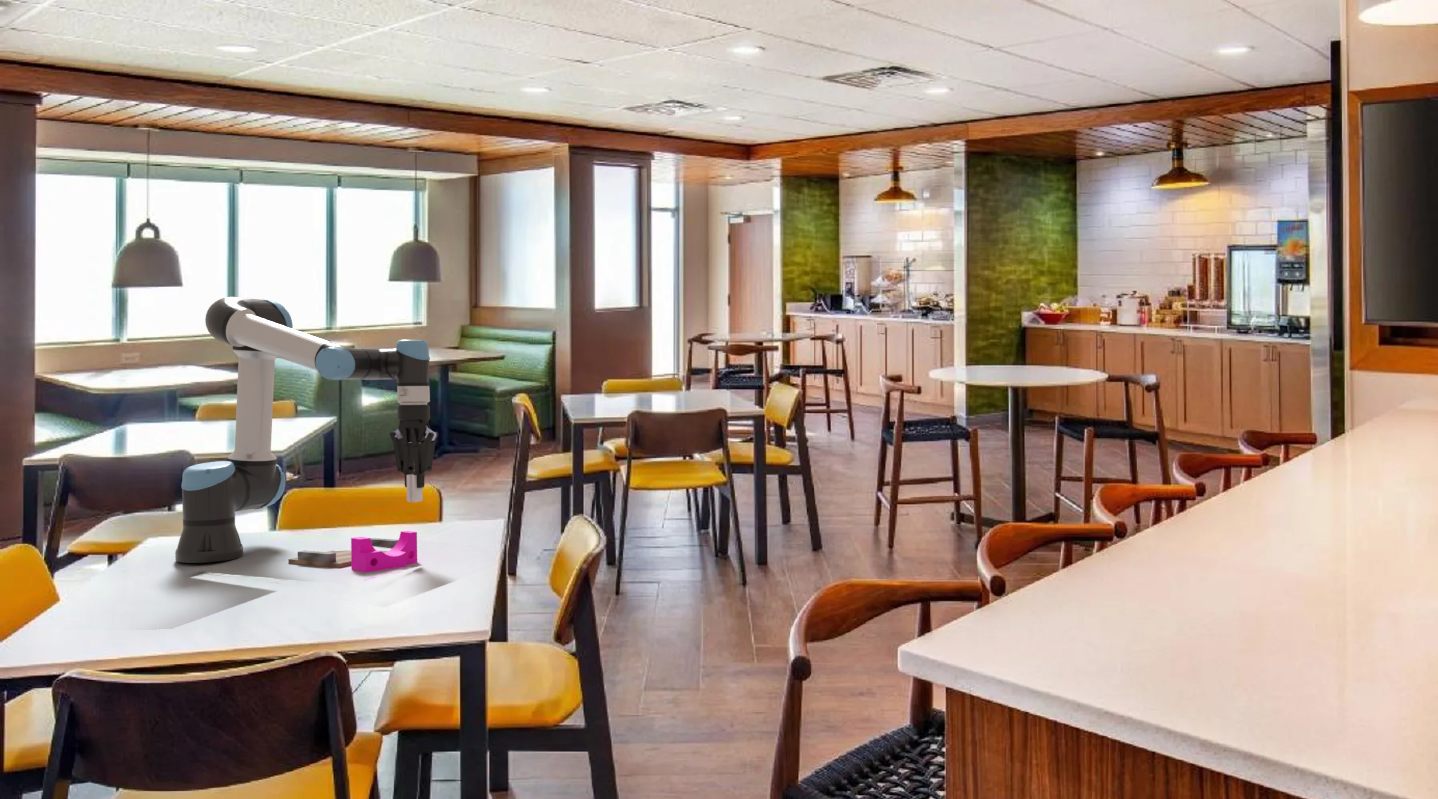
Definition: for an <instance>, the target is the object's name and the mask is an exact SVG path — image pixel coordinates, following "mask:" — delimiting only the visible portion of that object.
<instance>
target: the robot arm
mask: <svg viewBox="0 0 1438 799" xmlns="http://www.w3.org/2000/svg"><path fill="white" fill-rule="evenodd" d="M204 322H205V326H206V329H207V331H208V333H209V334H210V336H211V337H213V338H214V339H215V340H217V341H218V342H221V343H224V344H228V345H231V346H232V352H233V353H234V354H235V355H236V356H237V357H238V366H237V370H238V371H237V386H236V387H237V388H236V390H237V391H236V408H235V411H236V412H235V415H236V416H235V432H234V433H235V435H234V450H233V451H232V452H231V453H230V454H229V455H228V456H227V461H226V460H219V461H210V462H202V463H198V464H193V465H191V466H188V467H186V468H185V469H184V470H183V471H182V479H181V480H182V481H181V495H182V499H181V500H182V502H181V503H182V531H181V533H180V537H179V540H178V544H177V548H176V549H175V553H174V554H175V556H174V557H175V561H176V562H177V563H178V562H179V563H188V564H189V563H193V564H195V563H199V564H200V563H213V562H222V561H223V562H225V561H230V560H235V559H239V558H242V557H243V556H244V546H243V544H242V541H241V538H240V535H239V532H238V529H237V528H236V512H241V511H248V510H260V509H263V508H265V507H269V506H272V505H273V504H276V503H277V501H278V500H280V499H281V497H282V496H283V494H284V491H285V489H286V488H285V487H286V475H285V473H284V471H283V469H282V467H281V466H280V464H278V463H277V460H278V457H277V456H276V455H275V454H274V453H273V452H272V432H273V413H274V412H273V410H274V409H273V408H274V392H275V391H274V390H275V389H274V388H275V365H276V359H277V358H280V359H282V360H286V361H289V362H292V363H294V364H295V365H296V364H297V365H299V366H302V367H305V368H308V369H311V370H314V371H316V372H317V373H318V374H320V376H321V377H323V378H324V379H327V380H334V381H343V380H344V381H345V380H346V381H348V380H349V381H351V380H353V381H354V380H362V381H363V380H366V381H375V380H376V381H377V380H396V384H397V385H396V386H397V388H396V389H397V395H396V396H397V403H399V404H398V405H397V420H398V421H399V423H398V426H397V428H396V430H394V431H391V432H389V437H390V439H391V441H392V445H393V451H394V456H395V464H396V469H397V471H398V472H401V473H403V474H404V488H406V502H407V503H410V502H412V503H418V502H419V503H420V502H423V500H424V498H423V488H425V476H426V475H425V474H427V473H428V472H429V473H430V472H431V471H432V469H433V460H434V453H435V446H436V441H437V440H438V437H439V433H438V431H433V430H432V429H431V428H430V427H431V426H430V425H429V420H430V419H431V406H430V404H428V403H430V402H431V400H430V399H431V398H430V397H431V393H430V360H431V359H430V358H431V357H430V351H429V350H430V349H429V343H428V341H426V340H424V339H399V340H397V342H396V347H395V348H367V347H366V348H363V347H347V346H343V345H340V344H337V343H334V342H332V341H330V340H326V339H324V338H320V337H318V336H314V335H311V334H309V333H306V332H303V331H300V330H298V329H294V328H293V326H294V325H293V320H292V317H291V315H290V312H289V311H288V310H287V309H286V308H285V307H284V306H283V305H282V304H281V303H279V302H277V301H273V300H268V299H264V298H263V299H260V298H259V299H258V298H248V297H247V298H245V297H237V296H228V297H222V298H220V299H218V300H216V301H214V303H212V304H211V305H210V306H209V307H208V309H207V310H206V314H205V320H204Z"/></svg>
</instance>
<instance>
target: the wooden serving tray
mask: <svg viewBox="0 0 1438 799" xmlns="http://www.w3.org/2000/svg"><path fill="white" fill-rule="evenodd" d="M369 538H370V539H371V543H372V545H373V546H376V545H381V546H380V547H385V546H387V547H388V548H393V547H394V546H395V545H396V544H397V542H398V540H399V539H391V538H376V537H369ZM381 551H382V552H383V553H386V552H388V551H389V550H381ZM288 564H291V565H303V566H313V567H324V568H325V567H328V568H338V569H341V568H345V567H349V566H350V567H351V566H352V563H351V550H343V551H342V550H341V551H334V550H328V551H315V550H314V551H313V550H299V551H297V557H294V558H289V559H288Z"/></svg>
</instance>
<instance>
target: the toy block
mask: <svg viewBox="0 0 1438 799" xmlns="http://www.w3.org/2000/svg"><path fill="white" fill-rule="evenodd" d="M370 538H371V537H368V536H367V537H366V536H355V537H351V538H350V551H351V563H352V565H351V570H352V571H357V572H362V573H371V572H377V571H378V572H379V571H384V570H392V569H397V568H403V567H407V565H411V564H415V563H418V532H417V531H413V530H403V531H400V535H399V538H398V539H397V540H398V542H397V544H396V545H395V546H394V547H391V549H390V550H387V551H388V552H386V553H383V552H382V551H383V550H377V549H376V548H375V547H374V545H372V543H371V539H370Z"/></svg>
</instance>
